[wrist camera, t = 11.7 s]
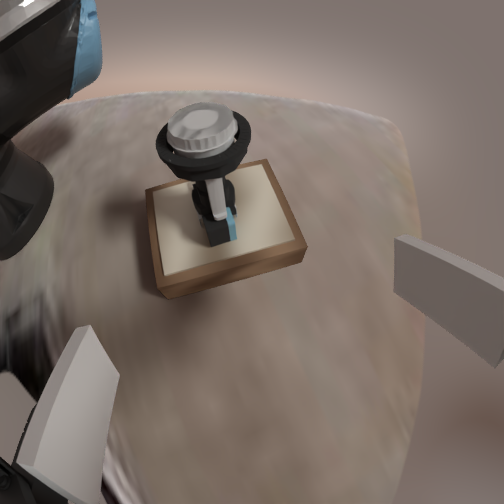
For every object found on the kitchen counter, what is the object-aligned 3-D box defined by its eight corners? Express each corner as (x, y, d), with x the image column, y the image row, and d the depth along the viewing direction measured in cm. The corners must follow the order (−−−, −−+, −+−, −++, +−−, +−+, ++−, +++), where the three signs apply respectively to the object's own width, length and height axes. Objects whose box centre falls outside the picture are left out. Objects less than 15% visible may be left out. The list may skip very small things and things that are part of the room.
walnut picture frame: (168, 299, 22) (156, 287, 19) (154, 207, 26) (144, 188, 23) (301, 262, 24) (308, 245, 21) (265, 178, 28) (266, 157, 25)
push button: (177, 193, 23) (147, 100, 14) (234, 176, 24) (228, 79, 15) (194, 258, 20) (156, 165, 11) (260, 237, 21) (266, 135, 12)
